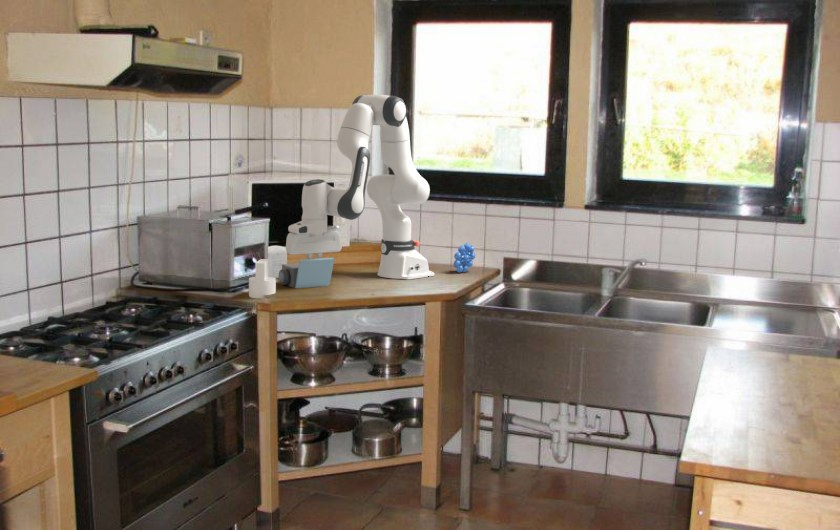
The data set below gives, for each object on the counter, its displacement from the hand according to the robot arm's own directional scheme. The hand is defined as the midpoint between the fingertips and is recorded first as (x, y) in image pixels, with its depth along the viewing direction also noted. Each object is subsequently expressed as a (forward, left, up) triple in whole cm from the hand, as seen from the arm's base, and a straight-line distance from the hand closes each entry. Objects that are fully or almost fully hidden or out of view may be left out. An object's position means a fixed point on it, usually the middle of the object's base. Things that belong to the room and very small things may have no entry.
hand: (314, 265), depth 325 cm
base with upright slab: (+20, +1, -9) cm, 22 cm away
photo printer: (+3, -27, -9) cm, 29 cm away
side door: (0, -2, -8) cm, 8 cm away
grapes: (-71, -9, -9) cm, 72 cm away
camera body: (+1, -7, -9) cm, 11 cm away
